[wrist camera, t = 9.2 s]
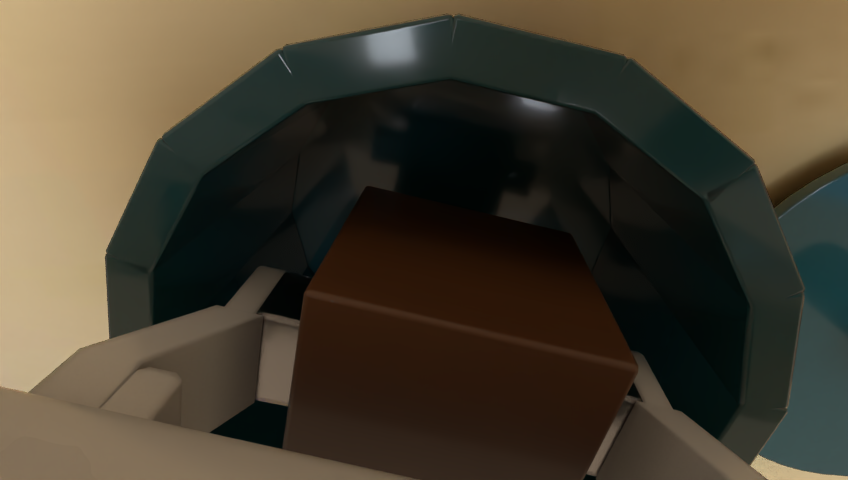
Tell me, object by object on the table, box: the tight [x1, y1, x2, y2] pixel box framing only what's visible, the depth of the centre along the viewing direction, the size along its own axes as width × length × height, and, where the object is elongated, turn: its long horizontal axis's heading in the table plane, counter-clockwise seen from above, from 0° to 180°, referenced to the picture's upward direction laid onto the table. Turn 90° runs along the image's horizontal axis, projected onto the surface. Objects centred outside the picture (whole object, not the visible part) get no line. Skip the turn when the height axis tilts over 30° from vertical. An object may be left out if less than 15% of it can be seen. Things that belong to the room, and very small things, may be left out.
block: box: [282, 186, 638, 480], centre depth 9 cm, size 4×4×4 cm
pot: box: [105, 14, 805, 480], centre depth 12 cm, size 12×12×8 cm
